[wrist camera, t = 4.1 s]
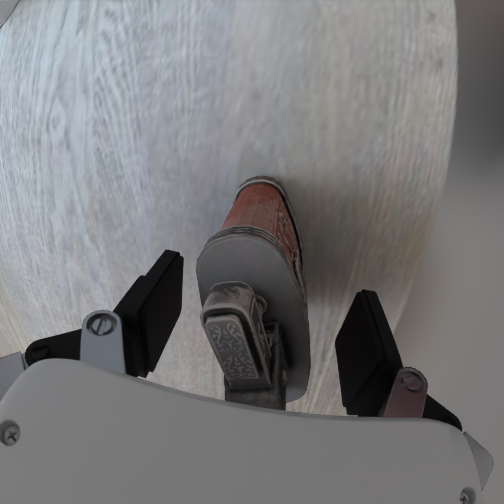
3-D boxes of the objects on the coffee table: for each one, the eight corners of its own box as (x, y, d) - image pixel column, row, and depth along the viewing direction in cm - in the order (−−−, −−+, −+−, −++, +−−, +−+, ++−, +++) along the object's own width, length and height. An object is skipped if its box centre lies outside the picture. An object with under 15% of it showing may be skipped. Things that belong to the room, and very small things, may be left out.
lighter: (311, 299, 18) (319, 450, 9) (257, 306, 18) (233, 453, 9) (288, 170, 14) (292, 277, 5) (224, 182, 15) (136, 296, 6)
